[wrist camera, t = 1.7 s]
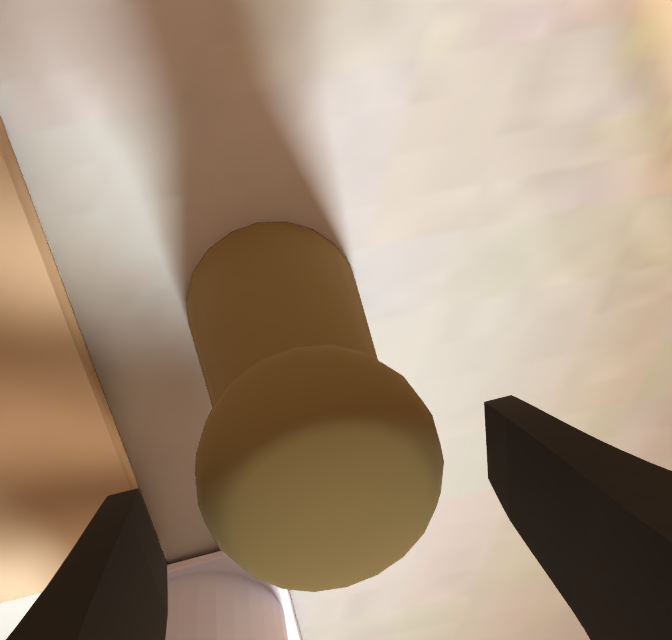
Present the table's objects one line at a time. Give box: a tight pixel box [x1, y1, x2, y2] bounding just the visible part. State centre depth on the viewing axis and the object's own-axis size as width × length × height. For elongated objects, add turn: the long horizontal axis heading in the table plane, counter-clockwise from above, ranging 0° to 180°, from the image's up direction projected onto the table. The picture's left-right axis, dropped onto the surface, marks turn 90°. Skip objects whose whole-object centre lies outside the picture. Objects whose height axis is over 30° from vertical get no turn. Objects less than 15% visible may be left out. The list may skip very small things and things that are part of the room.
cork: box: [186, 222, 444, 592], centre depth 16 cm, size 6×6×11 cm
